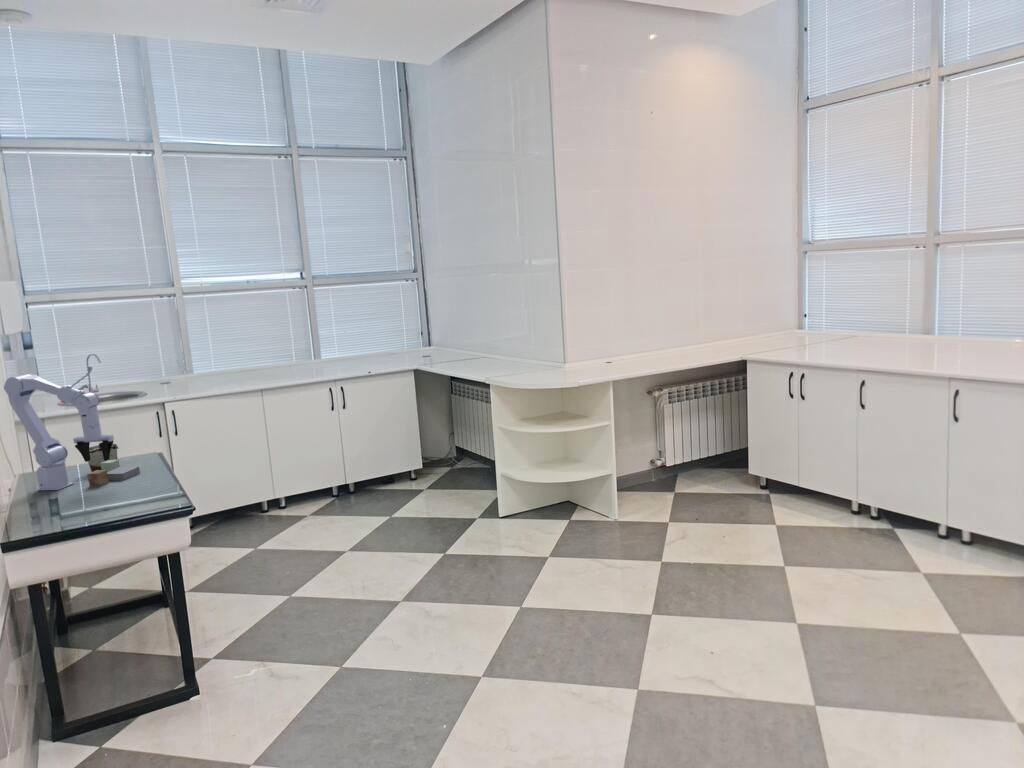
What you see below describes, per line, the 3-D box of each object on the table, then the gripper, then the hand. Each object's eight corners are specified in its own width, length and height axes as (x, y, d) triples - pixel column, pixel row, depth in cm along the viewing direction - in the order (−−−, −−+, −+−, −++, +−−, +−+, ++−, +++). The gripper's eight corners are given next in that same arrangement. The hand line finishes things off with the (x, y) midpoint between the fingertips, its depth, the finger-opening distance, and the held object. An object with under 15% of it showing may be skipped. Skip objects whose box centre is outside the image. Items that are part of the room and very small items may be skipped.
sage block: (102, 475, 284) (100, 463, 283) (110, 471, 288) (108, 459, 288) (112, 475, 283) (110, 462, 282) (120, 471, 287) (118, 459, 287)
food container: (118, 465, 298) (114, 441, 297) (122, 467, 294) (117, 443, 292) (85, 472, 291) (80, 448, 289) (88, 475, 286) (83, 450, 284)
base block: (103, 481, 276) (102, 474, 275) (120, 474, 284) (119, 467, 284) (124, 481, 274) (122, 473, 273) (140, 473, 283) (139, 466, 282)
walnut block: (89, 486, 269) (87, 473, 268) (98, 482, 273) (96, 470, 272) (100, 486, 268) (97, 473, 267) (109, 482, 272) (106, 469, 271)
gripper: (65, 428, 263) (71, 464, 265) (102, 426, 261) (108, 462, 264) (78, 424, 269) (84, 459, 272) (114, 422, 268) (120, 457, 270)
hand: (97, 460), depth 268 cm, fingers open, 7 cm apart
